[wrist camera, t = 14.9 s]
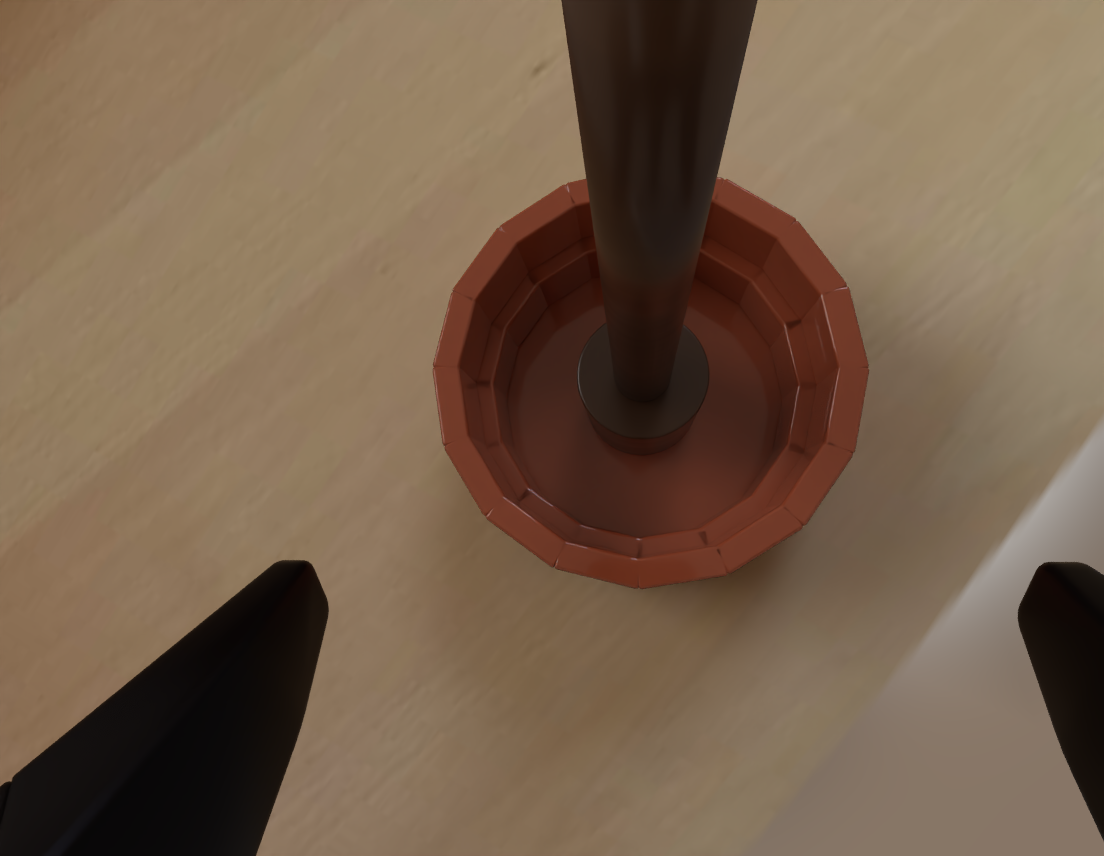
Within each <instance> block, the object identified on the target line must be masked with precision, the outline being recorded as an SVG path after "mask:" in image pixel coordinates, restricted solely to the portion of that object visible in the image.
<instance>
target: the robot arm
mask: <svg viewBox="0 0 1104 856" xmlns="http://www.w3.org/2000/svg"><path fill="white" fill-rule="evenodd" d="M328 612H329V607H328V601H327V598H326V595H325V593H324V591H323V588H322V586H321V584H320V581H319V579H318V577H317V574H316V572H315V569H314V567H313V566H312V564H311V563H309V562H308V561H305V560H282V561H278V562H276V563H274V564H273V565H272V566H270V567H269V568H268V569H267V570H265V571H264V572H263V573H262V574H261V575H259V576H258V577H257V578H256V579H254V580H253V581H252V582H251V583H249V584H248V585H247V586H246V587H245V588H243V589H242V590H241V591H240V592H238V593H237V594H236V595H235V596H234V597H232V598H231V599H230V600H229V601H227V602H226V603H225V604H224V605H223V606H221V607H220V608H219V609H218V610H216V611H215V612H214V613H213V614H211V615H210V616H209V617H208V618H207V619H205V620H204V621H203V622H202V623H200V624H199V625H198V626H197V627H196V628H194V629H193V630H192V631H191V632H189V633H188V634H187V635H186V636H184V637H183V638H182V639H181V640H180V641H178V642H177V643H176V644H175V645H173V646H172V647H171V648H170V649H169V650H167V651H166V652H165V653H164V654H162V655H161V656H160V657H159V658H158V659H156V660H155V661H154V662H153V663H151V664H150V665H149V666H148V667H146V668H145V669H144V670H143V671H142V672H140V673H139V674H138V675H137V676H135V677H134V678H133V679H132V680H131V681H129V682H128V683H127V684H126V685H124V686H123V687H122V688H121V689H120V690H118V691H117V692H116V693H115V694H113V695H112V696H111V697H110V698H108V699H107V700H106V701H105V702H104V703H102V704H101V705H100V706H99V707H97V708H96V709H95V710H94V711H93V712H91V713H90V714H89V715H88V716H86V717H85V718H84V719H83V720H82V721H80V722H79V723H78V724H77V725H75V726H74V727H73V728H72V729H70V730H69V731H68V732H67V733H66V734H64V735H63V736H62V737H61V738H59V739H58V740H57V741H56V742H55V743H53V744H52V745H51V746H50V747H48V748H47V749H46V750H45V751H43V752H42V753H41V754H40V755H39V756H37V757H36V758H35V759H34V760H32V761H31V762H30V763H29V764H28V765H26V766H25V767H24V768H23V769H21V770H20V771H19V772H18V773H16V774H15V775H14V777H13V779H12V782H10V781H9V782H5V783H4V784H3V785H1V786H0V856H256V854H257V851H258V848H259V845H260V843H261V840H262V837H263V834H264V831H265V828H266V826H267V823H268V820H269V817H270V814H271V812H272V809H273V806H274V803H275V800H276V798H277V795H278V792H279V789H280V786H281V783H282V781H283V778H284V775H285V772H286V769H287V767H288V764H289V761H290V758H291V755H292V752H293V750H294V747H295V744H296V741H297V738H298V735H299V732H300V729H301V726H302V722H303V718H304V714H305V711H306V707H307V703H308V699H309V694H310V690H311V686H312V682H313V678H314V674H315V669H316V665H317V661H318V657H319V653H320V649H321V645H322V640H323V636H324V632H325V628H326V624H327V619H328ZM1018 622H1019V627H1020V631H1021V634H1022V636H1023V639H1024V642H1025V645H1026V648H1027V651H1028V654H1029V657H1030V660H1031V663H1032V666H1033V669H1034V672H1035V674H1036V677H1037V680H1038V683H1039V686H1040V689H1041V692H1042V695H1043V698H1044V701H1045V703H1046V707H1047V710H1048V712H1049V715H1050V718H1051V721H1052V724H1053V727H1054V730H1055V732H1056V735H1057V738H1058V740H1059V743H1060V746H1061V749H1062V751H1063V754H1064V756H1065V758H1066V760H1067V763H1068V765H1069V767H1070V770H1071V772H1072V774H1073V776H1074V778H1075V780H1076V783H1077V785H1078V787H1079V789H1080V791H1081V793H1082V796H1083V798H1084V800H1085V802H1086V804H1087V806H1088V808H1089V810H1090V813H1091V815H1092V817H1093V819H1094V821H1095V823H1096V825H1097V828H1098V830H1099V832H1100V834H1101V836H1102V838H1103V840H1104V575H1103V574H1101V573H1100V572H1098V571H1096V570H1095V569H1093V568H1092V567H1090V566H1088V565H1086V564H1083V563H1079V562H1046V563H1044V564H1042V565H1041V566H1039V567H1038V569H1037V570H1036V572H1035V574H1034V576H1033V578H1032V580H1031V582H1030V585H1029V587H1028V589H1027V591H1026V593H1025V595H1024V597H1023V599H1022V601H1021V603H1020V606H1019V609H1018Z"/></svg>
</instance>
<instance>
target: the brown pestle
mask: <svg viewBox="0 0 1104 856" xmlns="http://www.w3.org/2000/svg"><path fill="white" fill-rule="evenodd" d="M756 4H757V0H562V7H563V15H564V22H565V29H566V36H567V43H568V50H569V58H570V65H571V72H572V79H573V86H574V93H575V101H576V108H577V115H578V122H579V129H580V136H581V144H582V151H583V158H584V165H585V172H586V179H587V187H588V194H589V201H590V208H591V215H592V222H593V230H594V237H595V244H596V251H597V258H598V265H599V273H600V280H601V287H602V294H603V301H604V308H605V316H606V323H605V324H603V325H602V326H601V327H600V328H598V329H597V330H596V331H595V332H594V333H593V335H592V336H591V337H590V338H589V340H588V341H587V342H586V344H585V346H584V348H583V350H582V353H581V355H580V358H579V362H578V367H577V385H578V391H579V394H580V397H581V400H582V402H583V405H584V407H585V409H586V412H587V414H588V417H589V419H590V421H591V424H592V426H593V428H594V429H595V431H596V432H597V434H598V435H599V436H600V437H601V438H602V439H603V440H604V441H605V442H606V443H607V444H609V445H610V446H612V447H613V448H615V449H617V450H619V451H622V452H625V453H629V454H634V455H649V454H655V453H658V452H661V451H664V450H666V449H668V448H670V447H671V446H673V445H674V444H676V443H677V442H678V441H679V440H681V438H682V437H683V436H684V435H685V434H686V433H687V431H688V430H689V428H690V426H691V424H692V423H693V421H694V419H695V417H696V415H697V413H698V411H699V409H700V407H701V405H702V403H703V401H704V399H705V397H706V394H707V390H708V386H709V364H708V360H707V356H706V353H705V351H704V349H703V347H702V345H701V343H700V341H699V340H698V338H697V337H696V336H695V335H694V333H693V332H692V331H691V330H690V329H689V328H687V327H686V326H685V325H684V324H683V322H684V318H685V314H686V309H687V305H688V301H689V296H690V292H691V288H692V283H693V279H694V275H695V270H696V266H697V261H698V257H699V253H700V248H701V244H702V240H703V235H704V231H705V227H706V222H707V218H708V214H709V209H710V205H711V200H712V196H713V192H714V187H715V183H716V179H717V174H718V170H719V166H720V161H721V157H722V152H723V148H724V144H725V139H726V135H727V131H728V126H729V122H730V118H731V113H732V109H733V105H734V100H735V96H736V91H737V87H738V83H739V78H740V74H741V70H742V65H743V61H744V57H745V52H746V48H747V44H748V39H749V35H750V30H751V26H752V22H753V17H754V13H755V9H756Z"/></svg>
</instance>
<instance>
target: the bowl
mask: <svg viewBox="0 0 1104 856" xmlns="http://www.w3.org/2000/svg"><path fill="white" fill-rule="evenodd" d="M846 286H847V284H846V282H845V281H844V280H843V278H842V277H841V276H840V274H839V273H838V272H837V271H836V269H835V268H834V267H833V265H832V264H831V263H830V262H829V260H828V259H827V258H826V256H825V255H824V254H823V252H822V251H821V250H820V249H819V247H818V246H817V245H816V243H815V242H814V241H813V240H812V238H811V237H810V236H809V234H808V233H807V232H806V230H805V229H804V228H803V227H802V225H801V224H800V223H799V222H798V221H796V219H795V218H794V217H792V216H791V215H789V214H787V213H785V212H784V211H782V210H780V209H778V208H777V207H775V206H773V205H771V204H770V203H768V202H766V201H764V200H763V199H761V198H759V197H757V196H756V195H754V194H752V193H750V192H749V191H747V190H745V189H744V188H742V187H740V186H738V185H737V184H735V183H733V182H731V181H730V180H728V179H726V180H724V179H723V178H719V177H717V179H716V183H715V187H714V192H713V196H712V200H711V205H710V209H709V214H708V218H707V222H706V227H705V231H704V235H703V240H702V244H701V248H700V253H699V257H698V261H697V266H696V270H695V275H694V279H693V283H692V288H691V292H690V296H689V301H688V305H687V309H686V314H685V318H684V322H683V324H684V325H685V326H686V327H687V328H689V329H690V330H691V331H692V332H693V333H694V335H695V336H696V337H697V338H698V340H699V341H700V343H701V345H702V347H703V349H704V351H705V353H706V356H707V360H708V364H709V386H708V390H707V394H706V397H705V399H704V401H703V403H702V405H701V407H700V409H699V411H698V413H697V415H696V417H695V419H694V421H693V423H692V424H691V426H690V428H689V430H688V431H687V433H686V434H685V435H684V436H683V437H682V438H681V440H679V441H678V442H677V443H676V444H674V445H673V446H671V447H670V448H668V449H666V450H664V451H661V452H658V453H655V454H649V455H634V454H629V453H625V452H622V451H619V450H617V449H615V448H613V447H612V446H610V445H609V444H607V443H606V442H605V441H604V440H603V439H602V438H601V437H600V436H599V435H598V434H597V432H596V431H595V429H594V428H593V426H592V424H591V421H590V419H589V417H588V414H587V412H586V409H585V407H584V405H583V402H582V400H581V397H580V394H579V391H578V385H577V367H578V362H579V358H580V355H581V353H582V350H583V348H584V346H585V344H586V342H587V341H588V340H589V338H590V337H591V336H592V335H593V333H594V332H595V331H596V330H597V329H598V328H600V327H601V326H602V325H603V324H605V323H606V316H605V308H604V301H603V294H602V287H601V280H600V273H599V265H598V258H597V251H596V244H595V237H594V230H593V222H592V215H591V208H590V201H589V194H588V187H587V179H583V180H579V181H574V182H570V183H567V184H566V185H562V186H561V187H559V188H558V189H556V190H554V191H553V192H551V193H550V194H548V195H547V196H545V197H544V198H542V199H541V200H539V201H537V202H536V203H534V204H533V205H531V206H530V207H528V208H527V209H525V210H524V211H522V212H520V213H519V214H517V215H516V216H514V217H513V218H511V219H510V220H508V221H507V222H505V223H503V224H502V225H501V226H500V227H499V228H497V229H496V231H495V232H494V233H493V235H492V236H491V237H490V239H489V240H488V242H487V243H486V244H485V246H484V247H483V248H482V250H481V251H480V252H479V254H478V255H477V257H476V258H475V259H474V261H473V262H472V263H471V265H470V266H469V268H468V269H467V270H466V272H465V273H464V274H463V276H462V277H461V279H460V280H459V281H458V283H457V284H456V285H455V287H454V288H453V292H452V293H451V296H450V300H449V304H448V308H447V312H446V316H445V320H444V324H443V327H442V331H441V335H440V339H439V343H438V347H437V351H436V355H435V358H434V362H433V367H434V368H433V377H434V385H435V392H436V399H437V406H438V414H439V421H440V428H441V435H442V443H443V445H444V446H445V451H446V453H447V454H448V456H449V458H450V459H451V461H452V463H453V464H454V466H455V468H456V470H457V471H458V473H459V475H460V476H461V478H462V480H463V481H464V483H465V485H466V486H467V488H468V490H469V492H470V493H471V495H472V497H473V498H474V500H475V502H476V503H477V505H478V507H479V508H480V510H481V512H482V514H483V515H484V516H486V518H487V520H489V521H490V522H491V523H493V524H494V525H495V526H497V527H498V528H499V529H501V530H502V531H503V532H505V533H506V534H508V535H509V536H510V537H512V538H513V539H514V540H516V541H517V542H518V543H520V544H521V545H522V546H524V547H525V548H526V549H528V550H529V551H530V552H532V553H533V554H534V555H536V556H537V557H539V558H540V559H541V560H543V561H544V562H545V563H547V564H548V565H549V566H551V567H555V568H556V569H558V570H562V571H566V572H570V573H574V574H578V575H582V576H586V577H590V578H594V579H598V580H602V581H606V582H611V583H615V584H619V585H623V586H627V587H631V588H635V589H636V588H640V589H646V588H652V587H658V586H665V585H671V584H677V583H684V582H690V581H696V580H703V579H709V578H715V577H722V576H726V575H727V573H728V574H730V573H733V572H734V571H736V570H737V569H739V568H741V567H742V566H744V565H745V564H747V563H749V562H750V561H752V560H753V559H755V558H757V557H758V556H760V555H761V554H763V553H765V552H766V551H768V550H769V549H771V548H772V547H774V546H776V545H777V544H779V543H780V542H782V541H784V540H785V539H787V538H788V537H790V536H792V535H793V534H795V533H796V532H798V531H800V530H801V529H802V527H803V526H805V525H806V524H807V523H808V521H809V520H810V518H811V517H812V515H813V514H814V513H815V511H816V510H817V508H818V507H819V505H820V504H821V502H822V501H823V499H824V498H825V496H826V495H827V493H828V492H829V490H830V489H831V487H832V486H833V485H834V483H835V482H836V480H837V479H838V477H839V476H840V474H841V473H842V471H843V470H844V468H845V467H846V465H847V464H848V462H849V461H850V459H851V458H852V455H853V454H852V453H854V452H855V448H856V443H857V437H858V431H859V426H860V420H861V414H862V408H863V403H864V397H865V391H866V386H867V380H868V374H869V369H868V366H869V365H868V361H867V357H866V353H865V349H864V345H863V341H862V337H861V333H860V329H859V325H858V321H857V317H856V313H855V309H854V305H853V301H852V298H851V294H850V290H849V287H846Z"/></svg>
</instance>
